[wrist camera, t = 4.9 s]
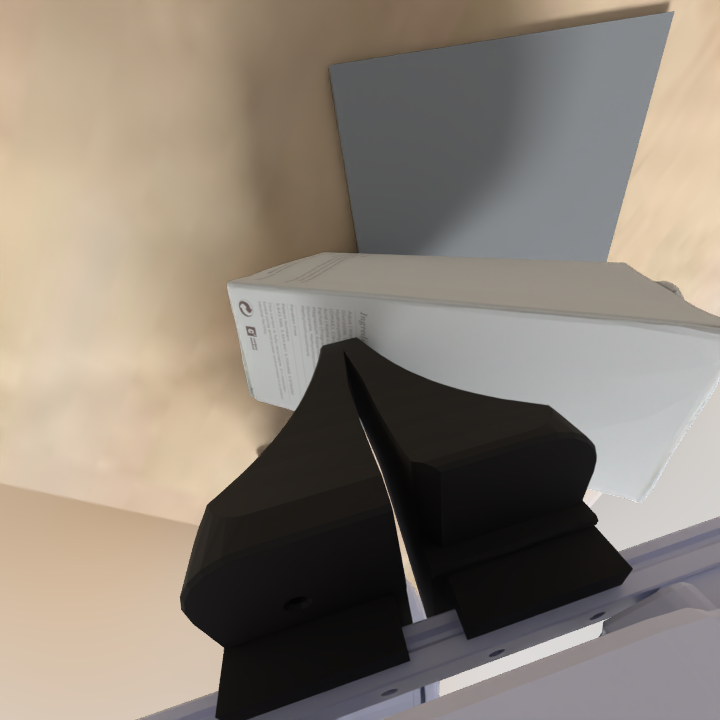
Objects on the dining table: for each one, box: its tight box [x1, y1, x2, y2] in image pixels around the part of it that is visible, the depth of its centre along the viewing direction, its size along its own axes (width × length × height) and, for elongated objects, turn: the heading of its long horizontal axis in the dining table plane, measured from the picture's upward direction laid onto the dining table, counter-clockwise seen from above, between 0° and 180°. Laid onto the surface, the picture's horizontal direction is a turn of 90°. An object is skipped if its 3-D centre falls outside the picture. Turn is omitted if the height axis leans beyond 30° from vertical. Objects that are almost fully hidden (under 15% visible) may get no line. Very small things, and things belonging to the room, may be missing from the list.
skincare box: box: [227, 252, 720, 503], centre depth 13 cm, size 8×6×15 cm
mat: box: [329, 11, 674, 262], centre depth 20 cm, size 20×18×1 cm
